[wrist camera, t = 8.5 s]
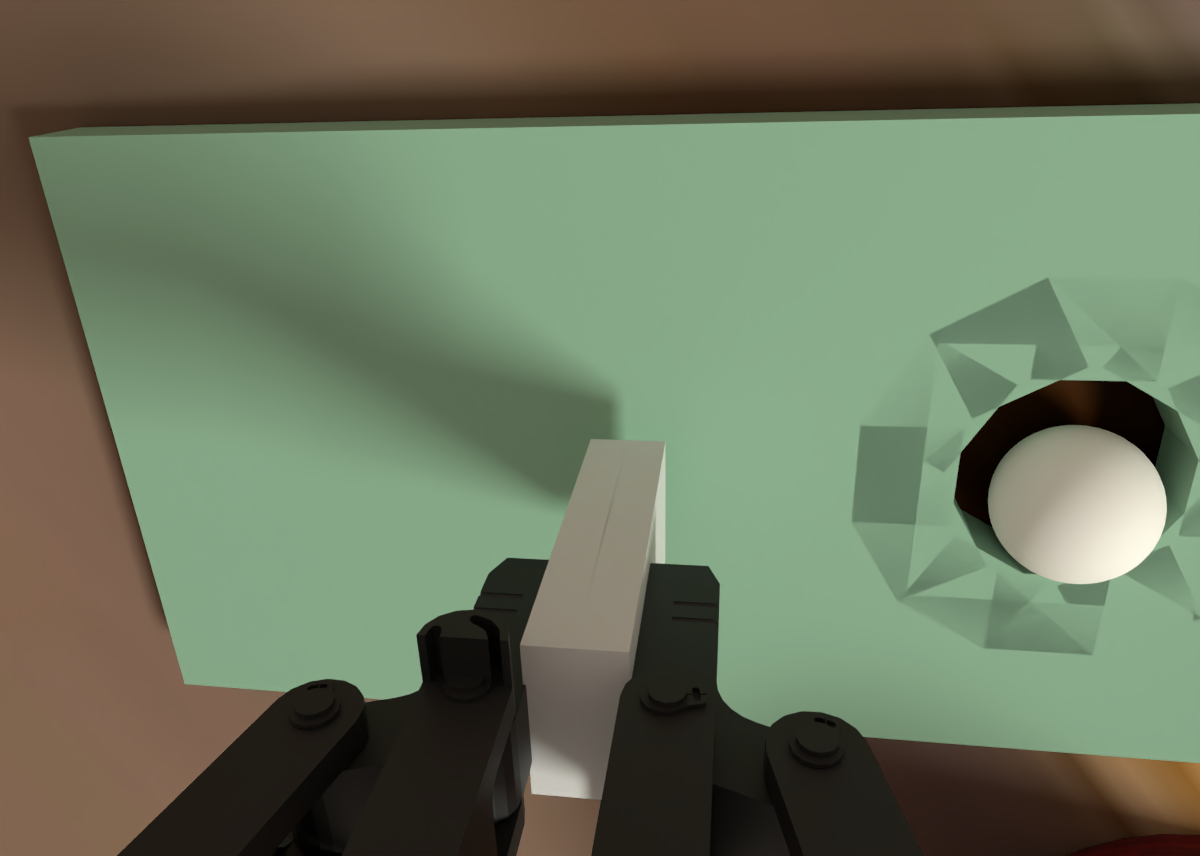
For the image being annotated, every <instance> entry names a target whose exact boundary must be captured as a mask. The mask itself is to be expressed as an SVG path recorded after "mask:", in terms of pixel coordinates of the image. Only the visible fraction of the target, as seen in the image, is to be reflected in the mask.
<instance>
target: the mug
mask: <svg viewBox="0 0 1200 856" xmlns="http://www.w3.org/2000/svg"><path fill="white" fill-rule="evenodd" d="M1067 856H1200V835H1183V834H1159V835H1150V836H1141V837H1132V838H1123V839H1119V840H1115V841H1111V842H1107V843H1103V844H1099V845H1095V846H1091V847H1087V848H1084V849H1082V850H1079V851H1077V852H1074V853H1072V854H1069V855H1067Z"/></svg>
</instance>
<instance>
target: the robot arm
mask: <svg viewBox="0 0 1200 856" xmlns="http://www.w3.org/2000/svg"><path fill="white" fill-rule="evenodd" d="M719 600H720V583H719V582H718V580H717V579H716V577H715V575H714V574H713V572H712V571H711V569H710V568H709V566H699V565H679V564H665V441H636V440H605V439H591V440H590V443H589V446H588V449H587V452H586V455H585V457H584V460H583V463H582V466H581V469H580V472H579V475H578V478H577V481H576V484H575V486H574V489H573V492H572V495H571V498H570V501H569V504H568V507H567V510H566V513H565V515H564V518H563V521H562V524H561V527H560V530H559V533H558V536H557V539H556V542H555V544H554V547H553V550H552V553H551V556H550V559H549V560H544V559H524V558H506V559H505V560H504V561H503V562H502V563H500V564H499V565H498V566H497V567H496V568H494V569H493V570H492V571H491V572H490V573H489V574H488V576H487V578H486V580H485V583H484V585H483V587H482V589H481V592H480V596H478V598H477V601H476V603H475V605H474V610H459V611H454V612H450V613H447V614H443V615H440V616H438V617H436V618H435V619H433V620H431V621H430V622H428V623H426V624H425V625H424V626H423V627H422V629H421V630H420V631H419V632H418V633H417V635H416V637H417V645H418V652H419V659H420V666H421V673H422V680H423V682H422V684H421V686H420V689H419V690H418V691H416V692H414V693H411V694H408V695H404V696H400V697H396V698H391V699H384V700H378V701H372V702H366V703H365V701H364V696H363V695H362V693H361V692H360V690H359V689H358V687H357V686H355V685H353V684H351V683H349V682H347V681H344V680H335V679H323V680H317V681H311V682H308V683H305V684H303V685H300V686H298V687H295V688H293V689H291V690H290V691H288V692H287V693H286V694H284V695H283V696H281V697H280V698H279V699H277V700H276V701H275V702H274V703H273V704H272V705H271V706H270V707H269V708H268V709H267V710H266V711H265V712H264V713H263V714H262V715H261V716H260V717H259V718H258V719H257V720H256V721H255V722H254V723H253V724H252V725H251V726H250V727H249V728H248V729H247V730H246V731H244V732H243V733H242V734H241V735H240V736H239V737H238V738H237V739H236V740H235V741H234V742H233V743H232V744H231V745H230V746H229V747H228V748H227V749H226V750H225V751H224V752H223V753H222V754H221V755H220V756H219V757H218V758H217V759H216V760H215V761H214V762H213V763H212V764H211V765H210V766H209V767H208V768H207V769H206V770H204V771H203V772H202V773H201V774H200V775H199V776H198V777H197V778H196V779H195V780H194V781H193V782H192V783H191V784H190V785H189V786H188V787H187V788H186V789H185V790H184V791H183V792H182V793H181V794H180V795H179V796H178V797H177V798H176V799H175V800H174V801H173V802H172V803H171V804H170V805H169V806H168V807H167V808H166V809H164V810H163V811H162V812H161V813H160V814H159V815H158V816H157V817H156V818H155V819H154V820H153V821H152V822H151V823H150V824H149V825H148V826H147V827H146V828H145V829H144V830H143V831H142V832H141V833H140V834H139V835H138V836H137V837H136V838H135V839H134V840H133V841H132V842H131V843H130V844H129V845H128V846H127V847H126V848H124V849H123V850H122V851H121V852H120V853H119V854H118V855H117V856H516V854H517V850H518V846H519V843H520V839H521V835H522V831H523V827H524V820H525V808H524V797H523V793H524V790H525V786H526V782H527V779H528V775H529V771H530V776H531V789H532V794H540V795H552V796H563V797H574V798H586V799H597V800H601V805H600V810H599V816H598V821H597V827H596V833H595V838H594V844H593V849H592V855H591V856H924V855H923V853H922V851H921V849H920V847H919V845H918V843H917V841H916V839H915V837H914V835H913V833H912V831H911V829H910V827H909V825H908V823H907V821H906V819H905V817H904V815H903V813H902V811H901V809H900V807H899V805H898V803H897V801H896V799H895V797H894V795H893V793H892V791H891V789H890V787H889V785H888V783H887V781H886V779H885V777H884V775H883V773H882V771H881V769H880V767H879V765H878V763H877V761H876V759H875V757H874V755H873V753H872V751H871V749H870V747H869V745H868V743H867V741H866V740H865V739H864V737H863V736H862V735H861V734H860V732H859V731H858V730H857V729H856V728H855V727H853V726H852V725H850V724H849V723H847V722H846V721H844V720H843V719H841V718H839V717H835V716H832V715H829V714H826V713H823V712H809V711H800V712H796V713H792V714H788V715H784V716H783V717H782V718H780V719H779V720H777V721H776V722H774V723H773V724H772V725H771V727H769V726H766V725H763V724H760V723H757V722H754V721H752V720H749V719H747V718H745V717H743V716H741V715H740V714H738V713H737V712H735V711H734V710H732V709H731V708H730V707H729V706H728V705H727V704H726V703H725V702H724V701H723V699H722V697H721V695H720V693H719V691H718V687H717V665H718V633H719Z"/></svg>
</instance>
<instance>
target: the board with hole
mask: <svg viewBox="0 0 1200 856" xmlns="http://www.w3.org/2000/svg"><path fill="white" fill-rule="evenodd" d="M28 138H29V141H30V145H31V148H32V152H33V155H34V159H35V162H36V166H37V169H38V173H39V176H40V180H41V183H42V187H43V190H44V194H45V197H46V201H47V204H48V208H49V211H50V215H51V218H52V222H53V225H54V229H55V232H56V235H57V239H58V242H59V246H60V249H61V253H62V256H63V260H64V263H65V267H66V270H67V274H68V277H69V281H70V284H71V288H72V291H73V295H74V298H75V302H76V305H77V309H78V312H79V316H80V319H81V323H82V326H83V330H84V333H85V337H86V340H87V344H88V347H89V351H90V354H91V358H92V361H93V365H94V368H95V372H96V375H97V379H98V382H99V386H100V389H101V393H102V396H103V400H104V403H105V407H106V410H107V414H108V417H109V421H110V424H111V428H112V431H113V435H114V438H115V442H116V445H117V449H118V452H119V456H120V459H121V463H122V466H123V469H124V473H125V476H126V480H127V483H128V487H129V490H130V494H131V497H132V501H133V504H134V508H135V511H136V515H137V518H138V522H139V525H140V529H141V532H142V536H143V539H144V543H145V546H146V550H147V553H148V557H149V560H150V564H151V567H152V571H153V574H154V578H155V581H156V585H157V588H158V592H159V595H160V599H161V602H162V606H163V609H164V613H165V616H166V620H167V623H168V627H169V630H170V634H171V637H172V641H173V644H174V648H175V651H176V655H177V658H178V662H179V665H180V669H181V672H182V676H183V679H184V683H185V684H192V685H205V686H218V687H230V688H243V689H256V690H269V691H282V692H288V691H290V690H291V689H293V688H295V687H298V686H300V685H303V684H305V683H308V682H311V681H317V680H323V679H335V680H344V681H347V682H349V683H351V684H353V685H355V686H357V687H358V689H359V690H360V692H361V693H362V695H363V696H364V698H371V699H391V698H396V697H400V696H404V695H408V694H411V693H414V692H416V691H418V690H419V689H420V686H421V684H422V682H423V680H422V673H421V666H420V659H419V652H418V645H417V637H416V635H417V633H418V632H419V631H420V630H421V629H422V627H423V626H424V625H425V624H426V623H428V622H430V621H431V620H433V619H435V618H436V617H438V616H440V615H443V614H447V613H450V612H454V611H459V610H474V605H475V603H476V601H477V598H478V596H480V592H481V589H482V587H483V585H484V583H485V580H486V578H487V576H488V574H489V573H490V572H491V571H492V570H493V569H494V568H496V567H497V566H498V565H499V564H500V563H502V562H503V561H504V560H505V559H506V558H524V559H544V560H549V559H550V556H551V553H552V550H553V547H554V544H555V542H556V539H557V536H558V533H559V530H560V527H561V524H562V521H563V518H564V515H565V513H566V510H567V507H568V504H569V501H570V498H571V495H572V492H573V489H574V486H575V484H576V481H577V478H578V475H579V472H580V469H581V466H582V463H583V460H584V457H585V455H586V452H587V449H588V446H589V443H590V440H591V439H605V440H636V441H665V564H679V565H699V566H709V568H710V569H711V571H712V572H713V574H714V575H715V577H716V579H717V580H718V582H719V583H720V600H719V633H718V665H717V687H718V691H719V693H720V695H721V697H722V699H723V701H724V702H725V703H726V704H727V705H728V706H729V707H730V708H731V709H732V710H734V711H735V712H737V713H738V714H740V715H741V716H743V717H745V718H747V719H749V720H752V721H754V722H757V723H760V724H763V725H766V726H769V727H771V725H772V724H773V723H774V722H776V721H777V720H779V719H780V718H782V717H783V716H784V715H788V714H792V713H796V712H800V711H809V712H823V713H826V714H829V715H832V716H835V717H839V718H841V719H843V720H844V721H846V722H847V723H849V724H850V725H852V726H853V727H855V728H856V729H857V730H858V731H859V732H860V734H861V735H862V736H863V737H871V738H884V739H897V740H910V741H923V742H935V743H948V744H961V745H974V746H987V747H999V748H1012V749H1025V750H1038V751H1051V752H1063V753H1076V754H1089V755H1102V756H1115V757H1128V758H1140V759H1153V760H1166V761H1179V762H1192V763H1200V103H1190V104H1144V105H1097V106H1051V107H1004V108H957V109H911V110H864V111H818V112H771V113H725V114H678V115H632V116H585V117H539V118H492V119H446V120H399V121H353V122H306V123H260V124H213V125H167V126H120V127H80V128H74V129H69V130H64V131H58V132H53V133H48V134H43V135H37V136H32V137H28ZM1059 380H1090V381H1127V382H1128V383H1130V384H1132V385H1134V386H1135V387H1137V388H1139V389H1140V390H1142V391H1144V392H1146V393H1147V394H1149V395H1151V396H1152V397H1153V399H1154V401H1155V404H1156V406H1157V408H1158V411H1159V413H1160V415H1161V418H1162V420H1163V422H1164V425H1165V428H1164V432H1163V436H1162V441H1161V445H1160V449H1159V453H1158V457H1157V461H1156V465H1155V469H1156V470H1157V472H1158V474H1159V476H1160V478H1161V481H1162V484H1163V486H1164V489H1165V494H1166V502H1167V514H1166V520H1165V526H1164V529H1163V531H1162V534H1161V537H1160V539H1159V541H1158V542H1157V544H1156V546H1155V548H1154V549H1153V550H1152V552H1151V553H1150V554H1149V555H1148V556H1147V557H1146V558H1145V559H1144V560H1143V561H1142V562H1141V563H1140V564H1139V565H1138V566H1136V567H1135V568H1133V569H1132V570H1130V571H1129V572H1127V573H1125V574H1123V575H1121V576H1119V577H1116V578H1114V579H1110V580H1107V581H1104V582H1099V583H1091V584H1070V583H1063V582H1058V581H1054V580H1051V579H1048V578H1045V577H1042V576H1040V575H1038V574H1036V573H1034V572H1032V571H1030V570H1029V569H1027V568H1026V567H1024V566H1023V565H1021V564H1020V563H1019V562H1017V561H1016V560H1015V559H1014V558H1013V557H1012V556H1011V555H1010V554H1009V553H1008V552H1007V550H1006V549H1005V548H1004V547H1003V545H1002V544H1001V542H1000V541H999V539H998V538H997V536H996V534H995V531H994V529H993V527H991V526H990V525H988V524H986V523H984V522H982V521H981V520H979V519H977V518H975V517H973V516H972V515H970V514H968V513H966V512H965V511H963V510H961V509H960V507H959V505H958V503H957V501H956V499H955V497H954V495H955V488H956V481H957V475H958V468H959V461H960V454H961V452H962V450H963V449H964V448H965V447H966V446H967V444H968V443H969V442H970V441H971V440H972V439H973V437H974V436H975V435H976V434H977V433H978V431H979V430H980V429H981V428H982V427H983V425H984V424H985V423H986V422H987V421H988V419H989V418H990V417H991V416H992V415H993V413H994V412H995V411H996V410H997V409H998V407H1000V406H1002V405H1004V404H1007V403H1009V402H1011V401H1013V400H1016V399H1018V398H1020V397H1022V396H1025V395H1027V394H1029V393H1031V392H1034V391H1036V390H1038V389H1040V388H1043V387H1045V386H1047V385H1050V384H1052V383H1054V382H1056V381H1059Z"/></svg>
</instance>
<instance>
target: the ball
mask: <svg viewBox="0 0 1200 856" xmlns="http://www.w3.org/2000/svg"><path fill="white" fill-rule="evenodd" d="M988 510H989V516H990V520H991V524H992V527H993V529H994V531H995V534H996V536H997V538H998V539H999V541H1000V542H1001V544H1002V545H1003V547H1004V548H1005V549H1006V550H1007V552H1008V553H1009V554H1010V555H1011V556H1012V557H1013V558H1014V559H1015V560H1016V561H1017V562H1019V563H1020V564H1021V565H1023V566H1024V567H1026V568H1027V569H1029V570H1030V571H1032V572H1034V573H1036V574H1038V575H1040V576H1042V577H1045V578H1048V579H1051V580H1054V581H1058V582H1063V583H1070V584H1091V583H1099V582H1104V581H1107V580H1110V579H1114V578H1116V577H1119V576H1121V575H1123V574H1125V573H1127V572H1129V571H1130V570H1132V569H1133V568H1135V567H1136V566H1138V565H1139V564H1140V563H1141V562H1142V561H1143V560H1144V559H1145V558H1146V557H1147V556H1148V555H1149V554H1150V553H1151V552H1152V550H1153V549H1154V548H1155V546H1156V544H1157V542H1158V541H1159V539H1160V537H1161V534H1162V531H1163V529H1164V526H1165V520H1166V514H1167V502H1166V494H1165V489H1164V486H1163V484H1162V481H1161V478H1160V476H1159V474H1158V472H1157V470H1156V469H1155V467H1154V465H1153V464H1152V463H1151V462H1150V460H1149V459H1148V458H1147V457H1146V455H1145V454H1144V453H1143V452H1142V451H1141V450H1140V449H1138V448H1137V447H1136V446H1135V445H1133V444H1132V443H1130V442H1129V441H1127V440H1126V439H1125V438H1123V437H1121V436H1119V435H1117V434H1115V433H1112V432H1110V431H1107V430H1104V429H1101V428H1097V427H1091V426H1085V425H1063V426H1056V427H1051V428H1047V429H1044V430H1041V431H1039V432H1036V433H1034V434H1032V435H1030V436H1028V437H1026V438H1024V439H1023V440H1021V441H1020V442H1018V443H1017V444H1016V445H1015V446H1014V447H1012V448H1011V449H1010V450H1009V451H1008V453H1007V454H1006V455H1005V456H1004V457H1003V458H1002V460H1001V461H1000V463H999V464H998V466H997V468H996V470H995V472H994V474H993V476H992V479H991V483H990V487H989V493H988Z"/></svg>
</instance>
